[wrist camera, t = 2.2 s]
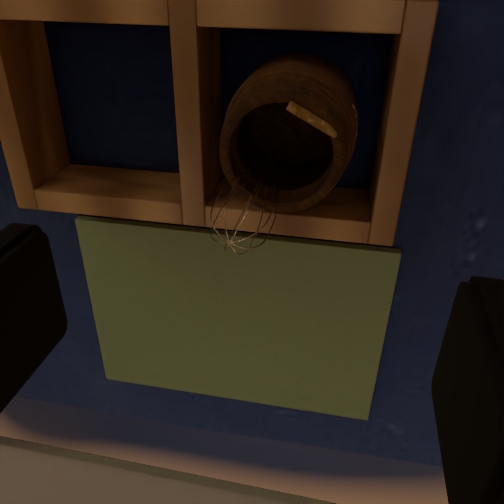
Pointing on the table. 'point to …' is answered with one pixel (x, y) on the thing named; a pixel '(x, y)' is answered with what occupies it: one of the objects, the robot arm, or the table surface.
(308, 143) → the utensil holder
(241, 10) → the frame
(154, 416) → the table surface
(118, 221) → the desk mat
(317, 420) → the table surface
